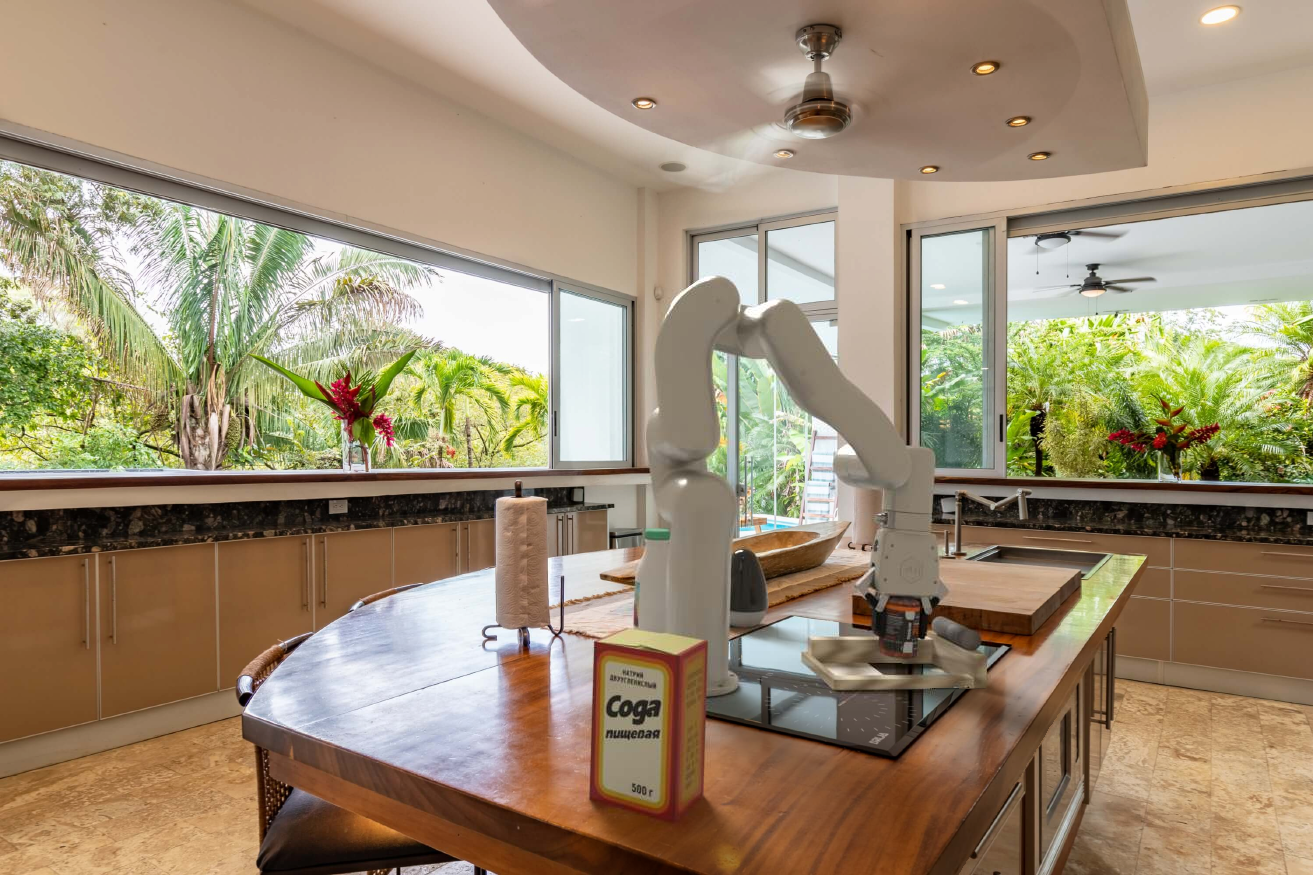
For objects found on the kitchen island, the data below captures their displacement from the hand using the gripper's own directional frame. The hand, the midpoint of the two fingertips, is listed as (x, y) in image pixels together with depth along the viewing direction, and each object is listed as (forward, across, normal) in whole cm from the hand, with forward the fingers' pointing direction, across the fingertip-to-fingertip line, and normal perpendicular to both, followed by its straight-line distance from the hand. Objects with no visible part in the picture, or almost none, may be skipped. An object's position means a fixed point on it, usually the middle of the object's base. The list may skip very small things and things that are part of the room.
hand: (898, 635), depth 121 cm
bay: (+6, -1, 0) cm, 6 cm away
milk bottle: (+8, -36, +21) cm, 43 cm away
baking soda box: (+9, -44, -39) cm, 60 cm away
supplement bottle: (+3, 0, 0) cm, 3 cm away
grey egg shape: (+7, -17, +33) cm, 38 cm away
